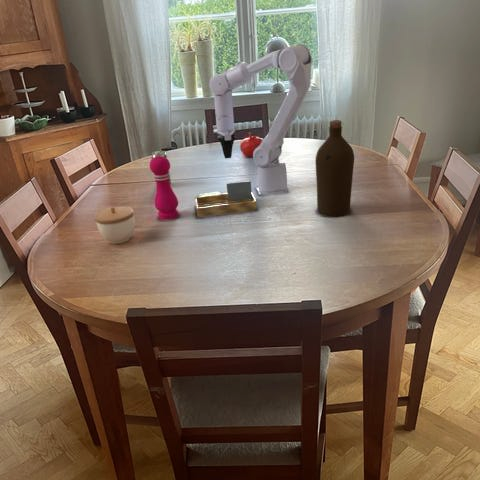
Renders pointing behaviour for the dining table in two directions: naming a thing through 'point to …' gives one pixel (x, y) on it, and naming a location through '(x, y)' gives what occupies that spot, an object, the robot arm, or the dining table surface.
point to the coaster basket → (222, 205)
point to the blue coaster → (239, 191)
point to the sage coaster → (209, 194)
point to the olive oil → (334, 173)
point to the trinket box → (116, 224)
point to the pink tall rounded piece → (161, 155)
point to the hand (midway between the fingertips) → (227, 157)
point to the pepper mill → (163, 188)
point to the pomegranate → (250, 145)
